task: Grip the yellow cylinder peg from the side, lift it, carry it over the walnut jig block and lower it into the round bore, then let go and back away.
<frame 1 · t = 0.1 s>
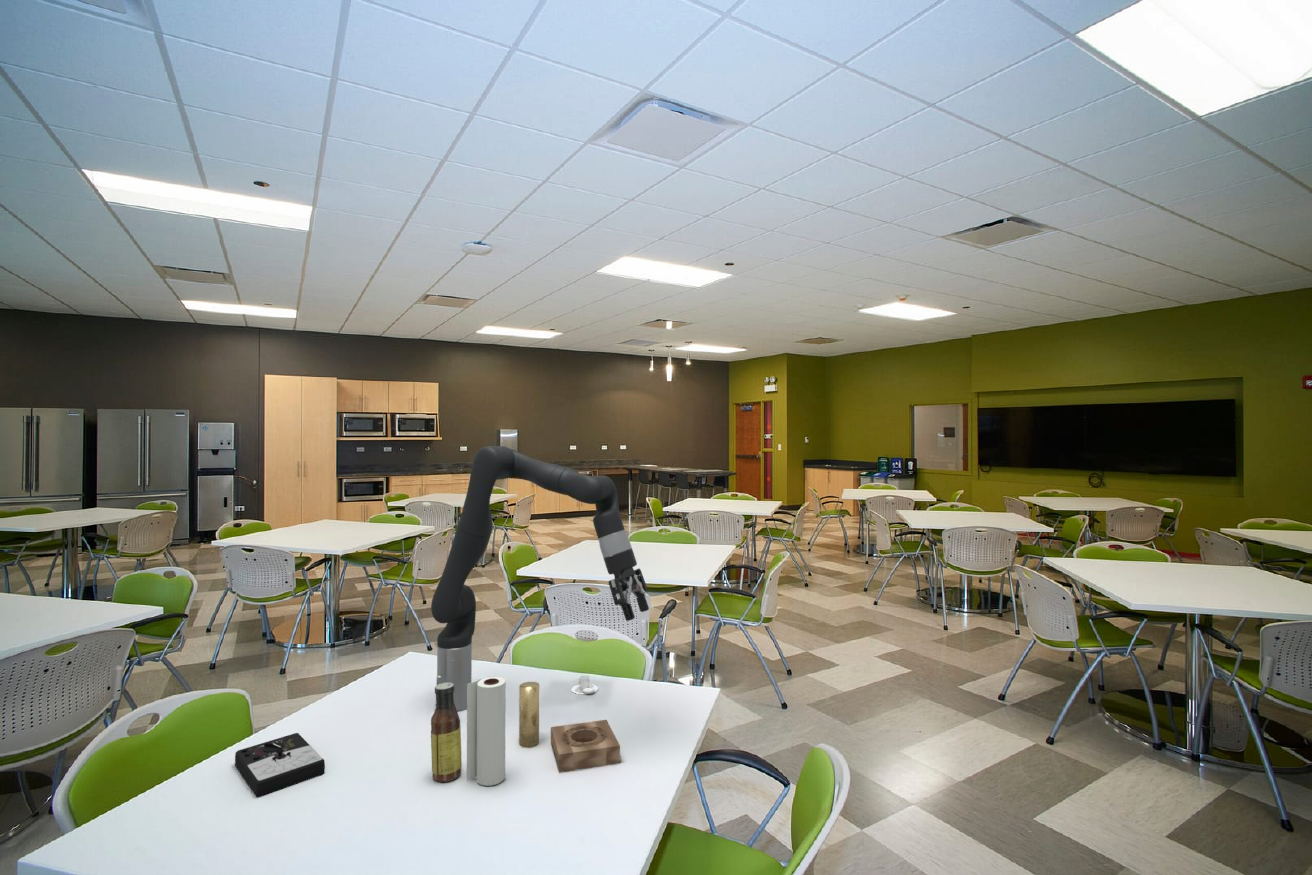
hand: (638, 615, 151), 31 cm above the table, tool tilted 20°, fingers open, 8 cm apart
sauce bottle: (446, 776, 136), on the table
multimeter: (279, 772, 138), on the table
paper towel roll: (488, 779, 134), on the table
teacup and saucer: (577, 694, 181), on the table
jig: (584, 752, 146), on the table
yellow cylinder peg: (529, 742, 151), on the table
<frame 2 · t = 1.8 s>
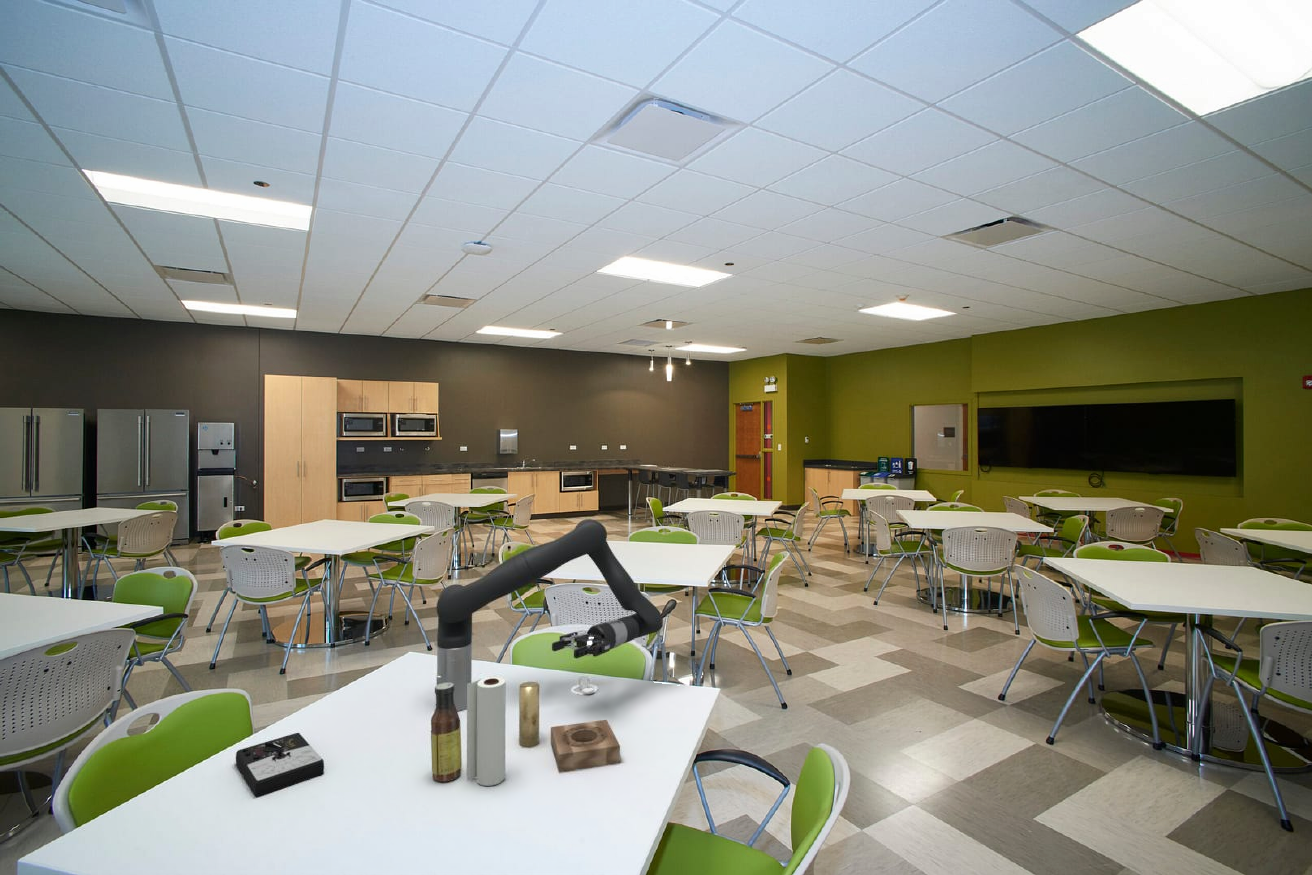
hand: (563, 650, 159), 20 cm above the table, tool horizontal, fingers open, 8 cm apart
nothing on the table moved.
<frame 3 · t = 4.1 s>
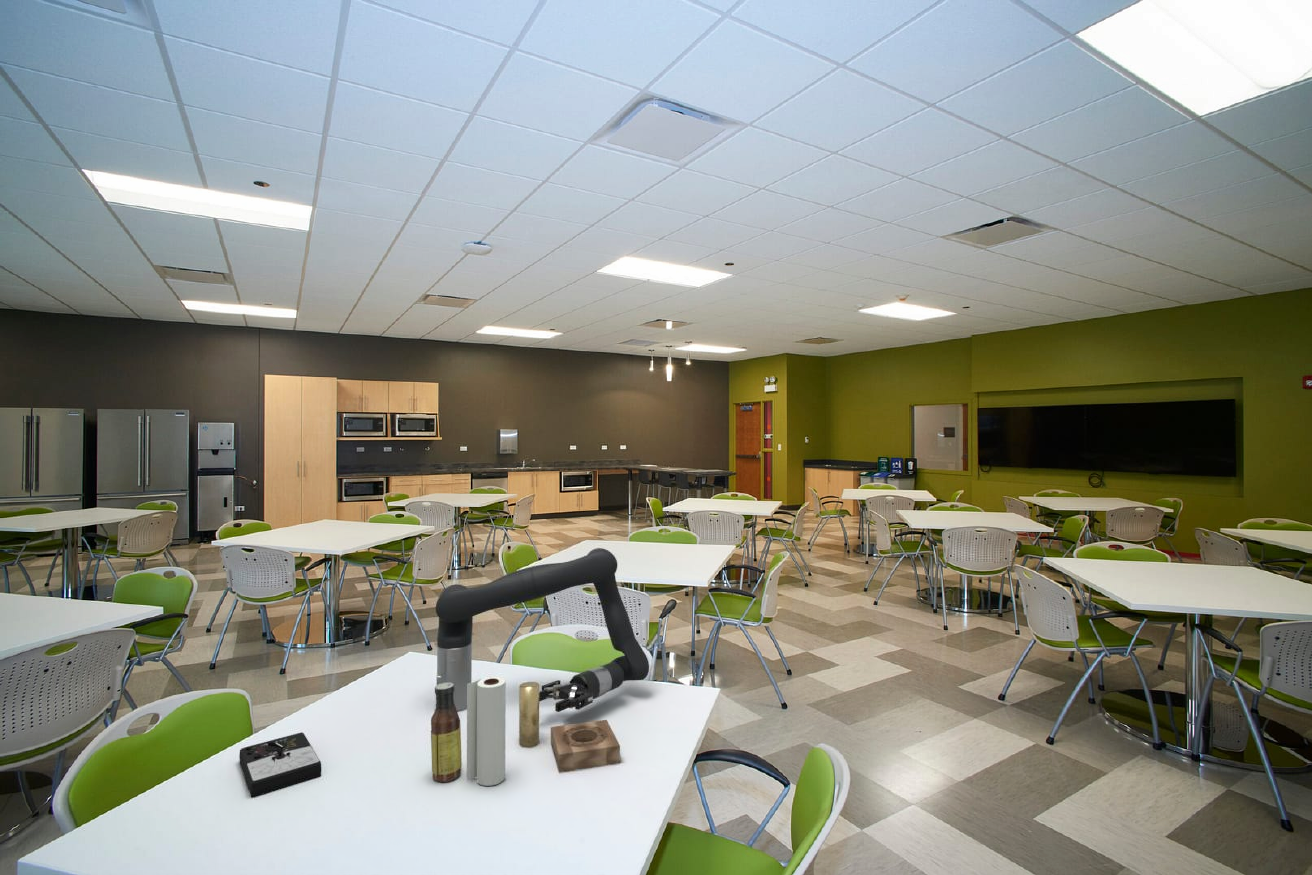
hand: (545, 703, 155), 8 cm above the table, tool horizontal, fingers open, 8 cm apart
nothing on the table moved.
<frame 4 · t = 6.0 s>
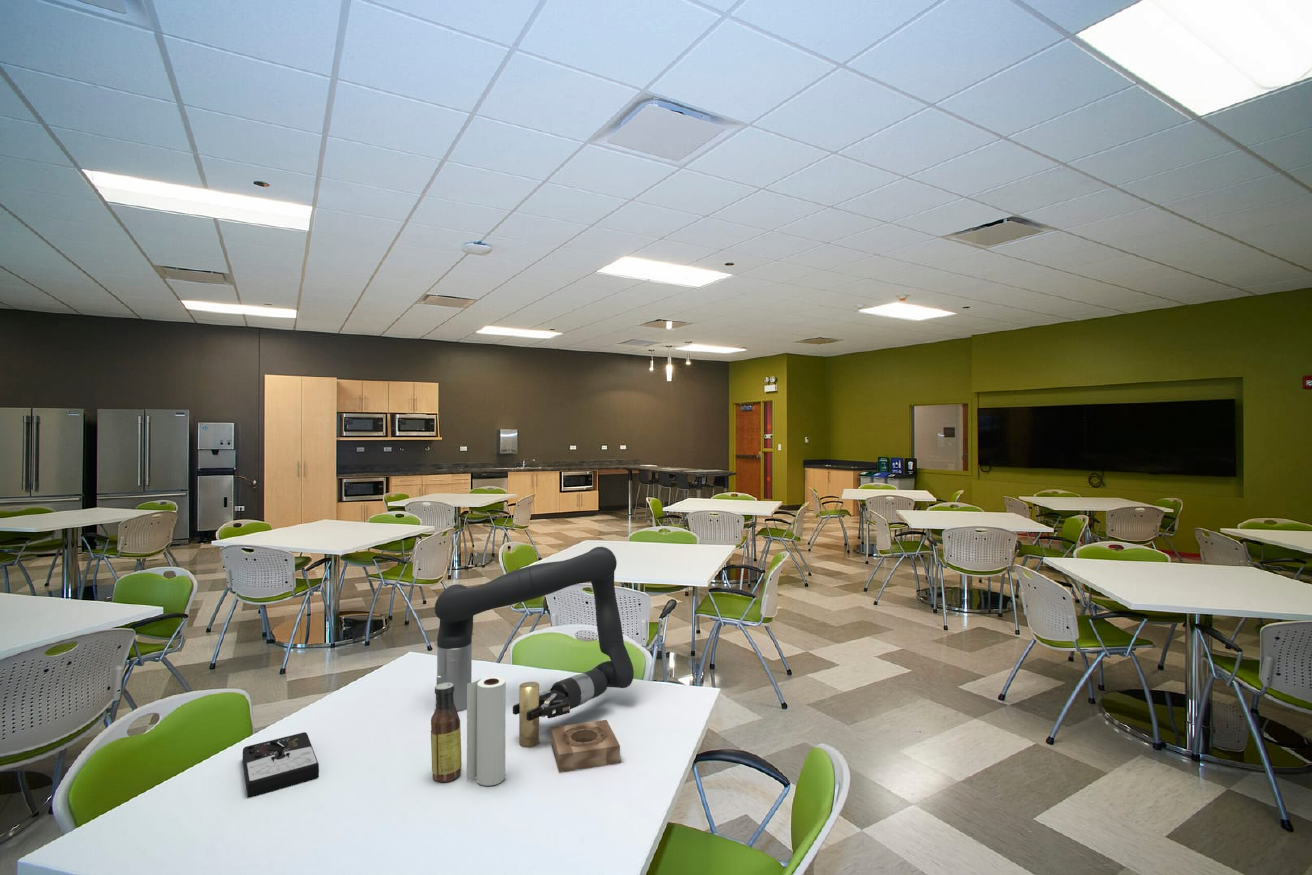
hand: (520, 713, 149), 8 cm above the table, tool horizontal, fingers closed on yellow cylinder peg, 4 cm apart
yellow cylinder peg: (529, 742, 151), on the table, touching gripper
everything else where it was.
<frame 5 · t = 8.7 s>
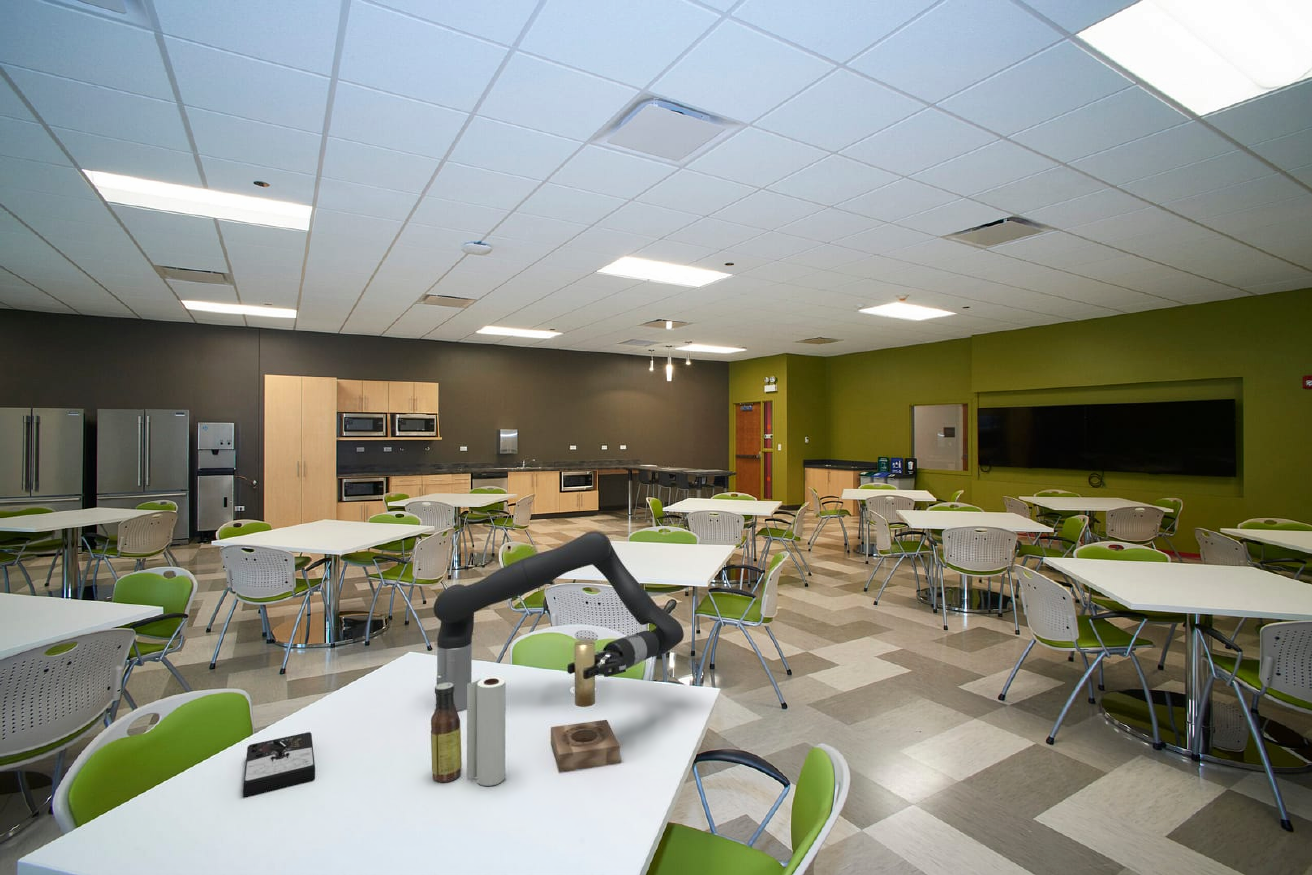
hand: (576, 671, 144), 20 cm above the table, tool horizontal, fingers closed on yellow cylinder peg, 4 cm apart
yellow cylinder peg: (584, 702, 146), point 12 cm above the table, touching gripper
when the fingers open (10 cm above the table, at t = 11.5 s): yellow cylinder peg drops 2 cm, resting in jig.
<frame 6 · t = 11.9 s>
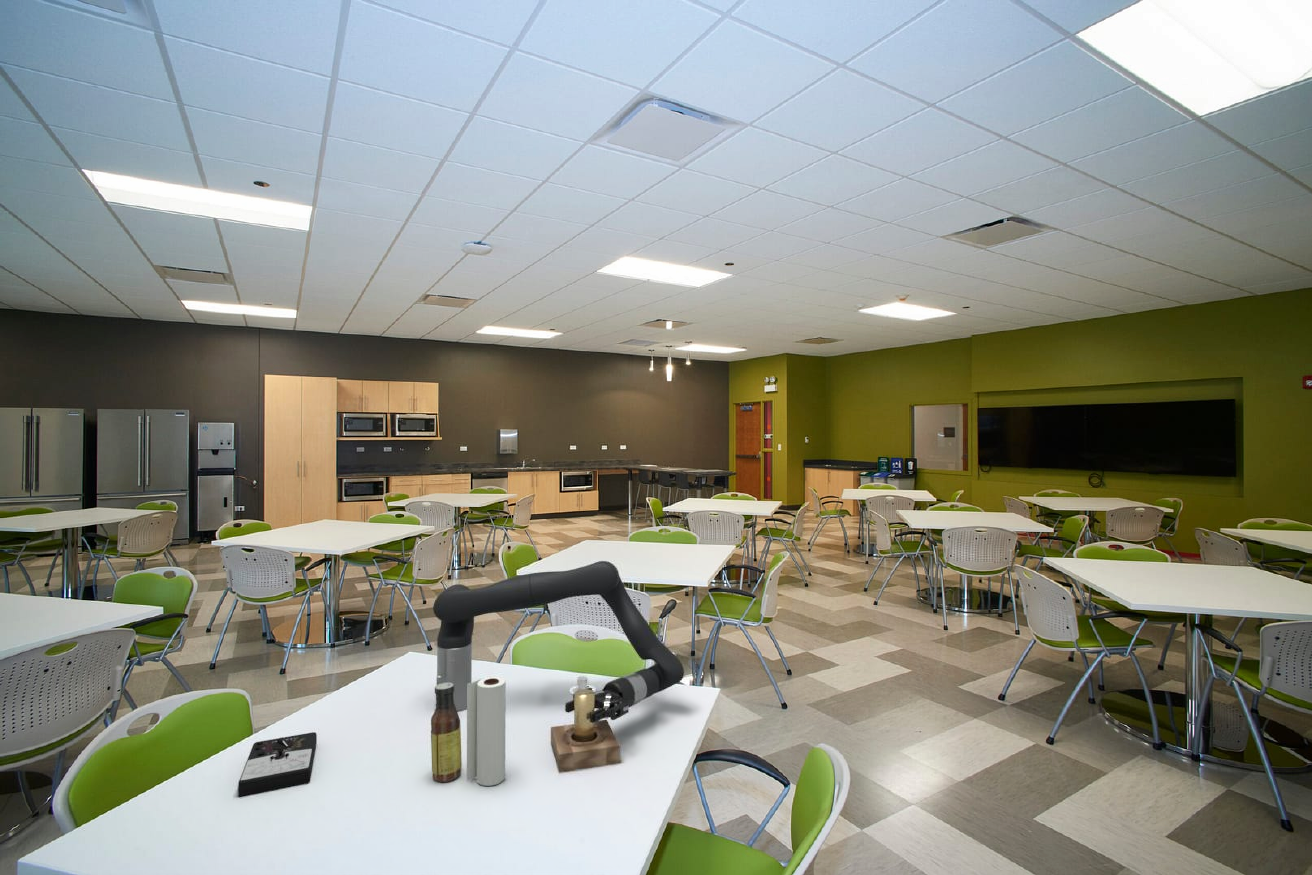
hand: (578, 713, 144), 10 cm above the table, tool horizontal, fingers open, 8 cm apart
yellow cylinder peg: (584, 752, 146), resting in jig
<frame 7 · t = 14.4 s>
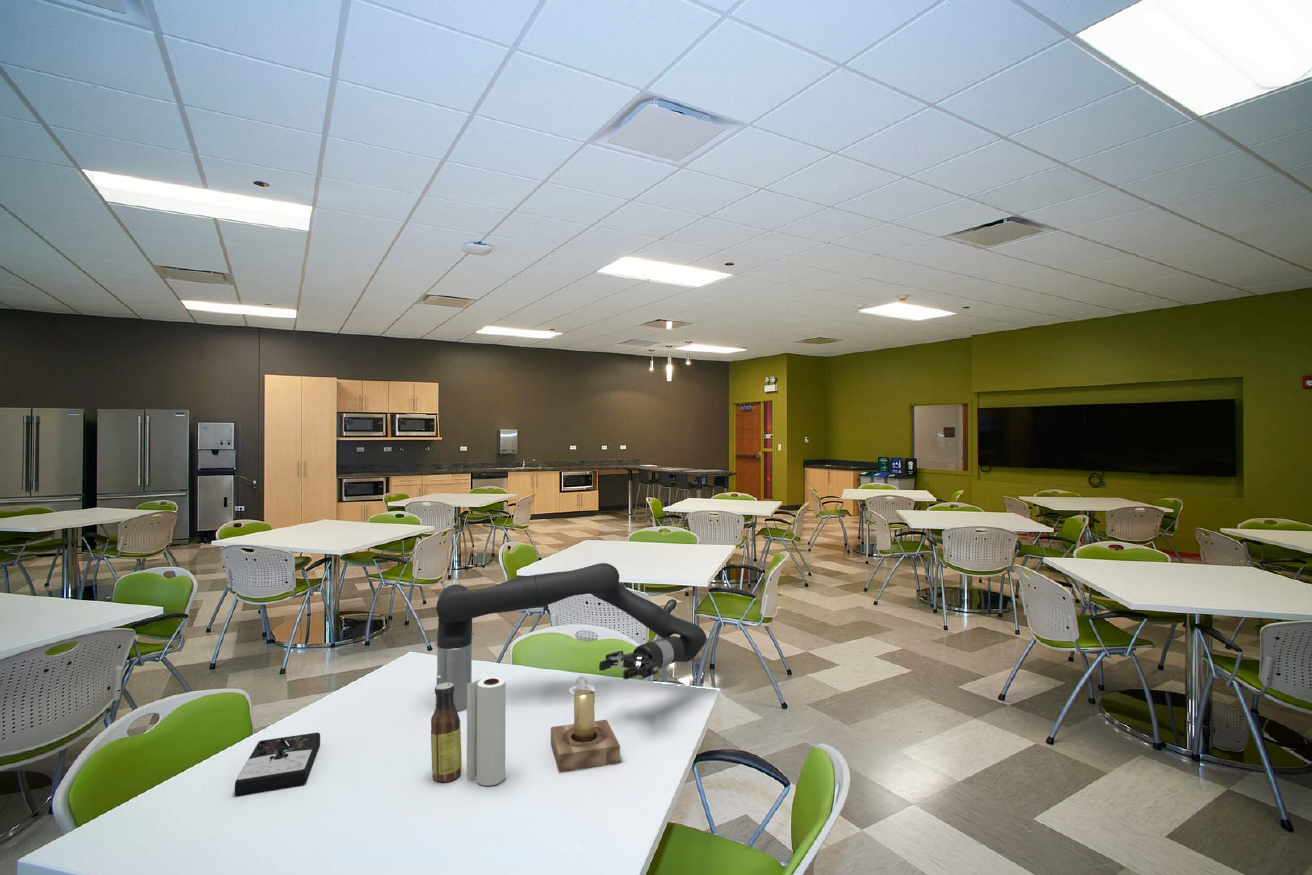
hand: (612, 670, 155), 16 cm above the table, tool horizontal, fingers open, 8 cm apart
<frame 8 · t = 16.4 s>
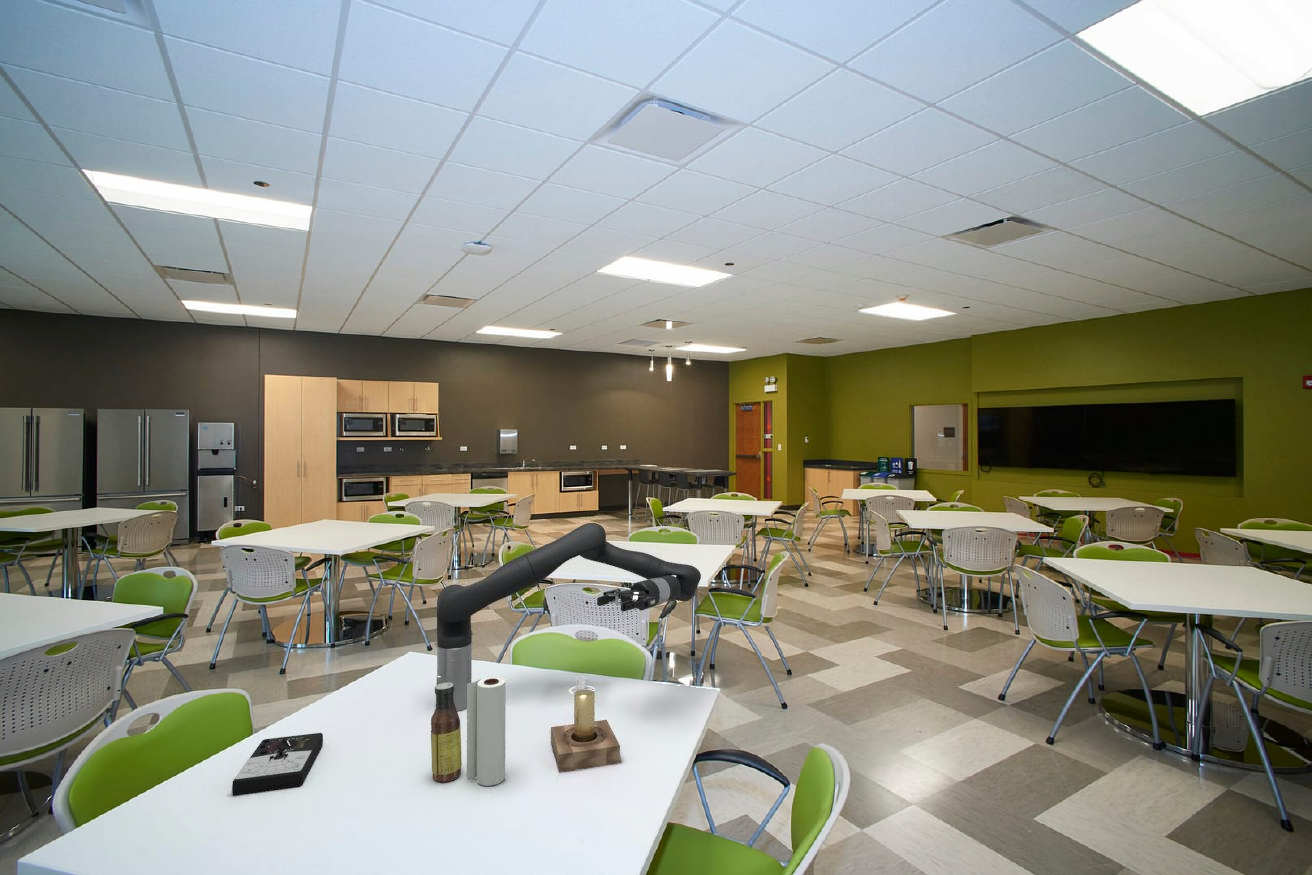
hand: (609, 604, 158), 32 cm above the table, tool horizontal, fingers open, 8 cm apart
at the end: yellow cylinder peg 0.2 cm off-centre in the jig, point 0.0 cm above the jig's base; yellow cylinder peg tilted 0°; the gripper is holding nothing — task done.
